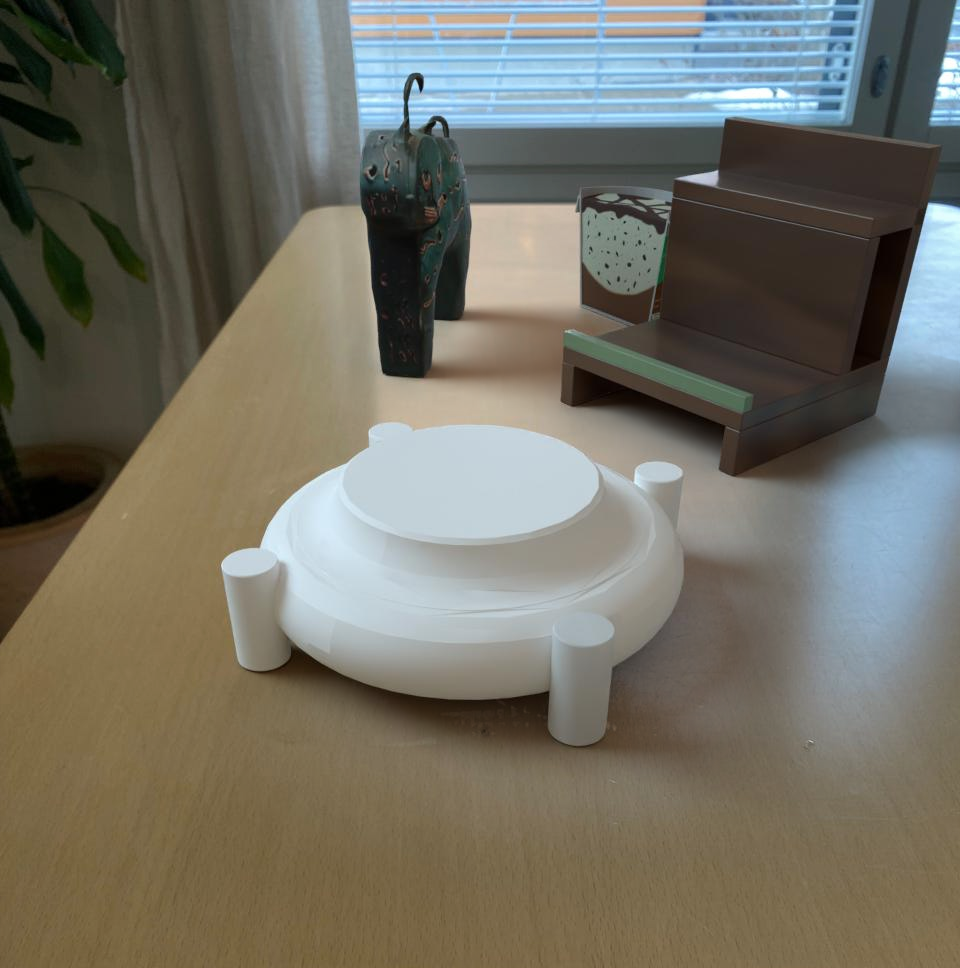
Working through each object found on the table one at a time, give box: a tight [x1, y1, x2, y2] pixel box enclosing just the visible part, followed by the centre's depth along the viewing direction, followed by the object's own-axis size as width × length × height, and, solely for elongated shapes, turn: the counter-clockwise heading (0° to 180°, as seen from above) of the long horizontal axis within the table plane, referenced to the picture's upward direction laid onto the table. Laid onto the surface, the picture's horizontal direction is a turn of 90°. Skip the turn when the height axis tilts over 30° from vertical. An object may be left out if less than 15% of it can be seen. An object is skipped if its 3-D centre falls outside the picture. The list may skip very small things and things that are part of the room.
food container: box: [574, 185, 674, 327], centre depth 86 cm, size 12×6×10 cm, turn 34°
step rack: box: [560, 116, 943, 477], centre depth 66 cm, size 16×16×17 cm
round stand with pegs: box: [220, 421, 685, 747], centre depth 48 cm, size 24×24×7 cm
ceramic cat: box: [359, 72, 473, 378], centre depth 77 cm, size 20×6×20 cm, turn 168°
